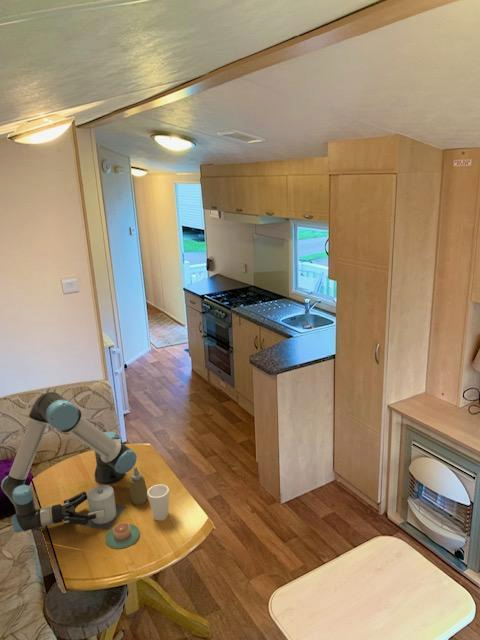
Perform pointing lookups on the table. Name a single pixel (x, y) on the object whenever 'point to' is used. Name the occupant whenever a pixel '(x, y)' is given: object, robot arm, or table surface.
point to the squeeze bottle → (137, 488)
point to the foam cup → (159, 501)
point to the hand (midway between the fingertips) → (103, 503)
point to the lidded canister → (102, 503)
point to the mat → (107, 525)
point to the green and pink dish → (122, 536)
